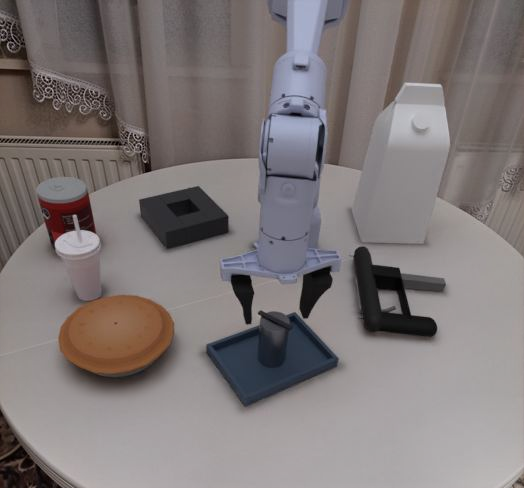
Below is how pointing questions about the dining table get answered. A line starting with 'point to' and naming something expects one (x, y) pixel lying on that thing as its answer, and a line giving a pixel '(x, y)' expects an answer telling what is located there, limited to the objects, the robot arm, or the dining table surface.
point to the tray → (270, 378)
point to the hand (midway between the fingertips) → (275, 316)
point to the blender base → (183, 216)
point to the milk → (403, 167)
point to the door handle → (393, 279)
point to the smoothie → (81, 261)
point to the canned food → (65, 206)
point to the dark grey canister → (273, 338)
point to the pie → (116, 335)
